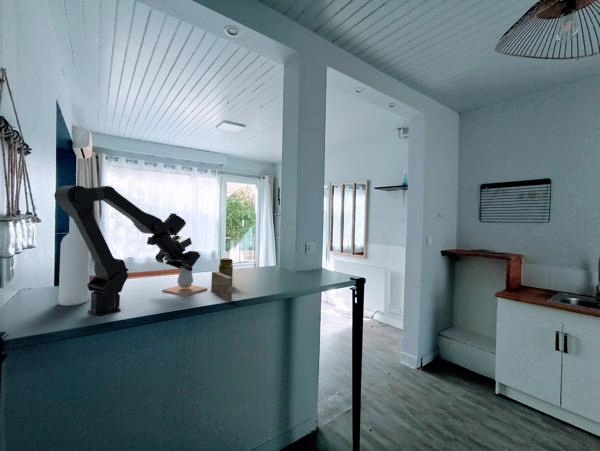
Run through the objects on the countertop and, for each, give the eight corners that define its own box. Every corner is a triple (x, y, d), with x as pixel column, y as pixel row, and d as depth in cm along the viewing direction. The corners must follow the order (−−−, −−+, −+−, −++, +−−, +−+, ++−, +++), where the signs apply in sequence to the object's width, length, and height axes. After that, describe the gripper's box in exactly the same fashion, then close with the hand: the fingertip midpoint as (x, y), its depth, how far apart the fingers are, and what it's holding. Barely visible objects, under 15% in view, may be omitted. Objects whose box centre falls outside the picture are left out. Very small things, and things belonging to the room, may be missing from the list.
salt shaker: (191, 288, 112) (193, 255, 112) (175, 288, 111) (177, 255, 111) (193, 285, 118) (195, 254, 118) (179, 285, 117) (180, 253, 117)
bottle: (64, 299, 96) (66, 211, 96) (91, 298, 99) (94, 212, 99) (53, 306, 89) (56, 211, 88) (84, 305, 92) (87, 212, 91)
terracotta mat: (184, 296, 107) (184, 294, 107) (162, 291, 112) (162, 289, 112) (207, 290, 117) (207, 288, 117) (186, 285, 123) (186, 284, 123)
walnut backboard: (226, 299, 105) (227, 278, 105) (211, 291, 116) (211, 271, 116) (231, 298, 107) (232, 277, 106) (215, 290, 117) (216, 271, 117)
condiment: (233, 284, 131) (234, 258, 130) (232, 288, 122) (234, 260, 122) (216, 284, 129) (217, 257, 129) (215, 288, 121) (216, 260, 121)
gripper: (197, 230, 107) (216, 257, 117) (163, 227, 115) (183, 253, 125) (179, 252, 100) (201, 279, 110) (144, 248, 107) (167, 273, 118)
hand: (188, 270), depth 116 cm, fingers closed on salt shaker, 3 cm apart
